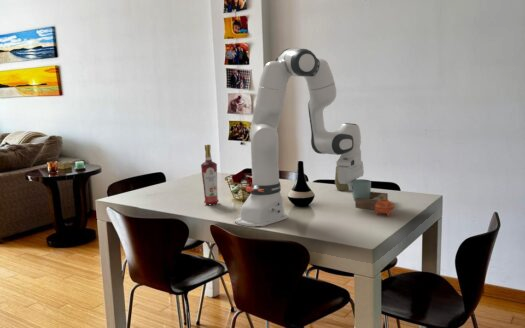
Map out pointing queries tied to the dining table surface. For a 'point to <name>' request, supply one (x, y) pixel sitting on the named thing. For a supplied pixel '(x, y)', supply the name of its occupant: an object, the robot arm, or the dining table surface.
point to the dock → (370, 200)
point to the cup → (361, 188)
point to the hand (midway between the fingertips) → (351, 189)
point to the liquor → (209, 178)
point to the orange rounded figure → (384, 207)
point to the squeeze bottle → (338, 185)
